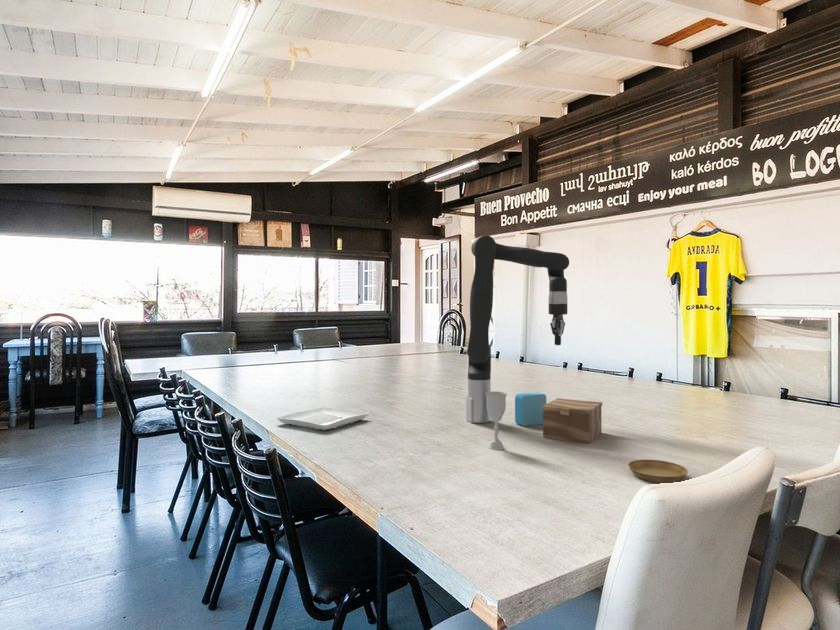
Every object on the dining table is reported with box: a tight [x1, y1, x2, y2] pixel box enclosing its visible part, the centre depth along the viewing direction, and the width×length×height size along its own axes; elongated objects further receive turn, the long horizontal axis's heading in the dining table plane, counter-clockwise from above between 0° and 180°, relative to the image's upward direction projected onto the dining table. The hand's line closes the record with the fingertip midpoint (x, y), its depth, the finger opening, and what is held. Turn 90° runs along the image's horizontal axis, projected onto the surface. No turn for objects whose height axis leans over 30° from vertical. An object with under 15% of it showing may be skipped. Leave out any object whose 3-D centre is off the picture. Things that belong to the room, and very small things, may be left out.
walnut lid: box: [542, 397, 603, 415], centre depth 182 cm, size 19×17×2 cm
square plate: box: [275, 406, 371, 431], centre depth 205 cm, size 27×27×4 cm
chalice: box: [485, 391, 508, 451], centre depth 166 cm, size 7×7×18 cm
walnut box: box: [542, 406, 602, 444], centre depth 182 cm, size 18×16×10 cm
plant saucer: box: [627, 459, 689, 484], centre depth 137 cm, size 15×15×3 cm
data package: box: [514, 391, 547, 427], centre depth 200 cm, size 12×4×12 cm, turn 112°
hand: (557, 345), depth 207 cm, fingers closed
